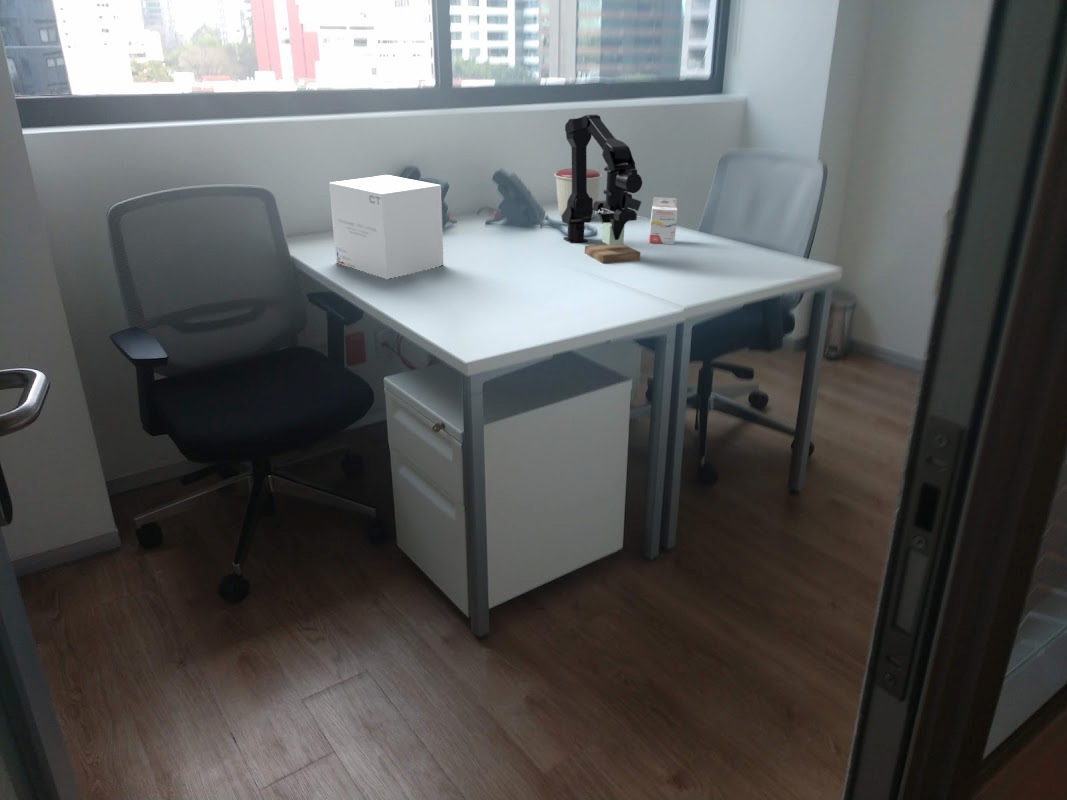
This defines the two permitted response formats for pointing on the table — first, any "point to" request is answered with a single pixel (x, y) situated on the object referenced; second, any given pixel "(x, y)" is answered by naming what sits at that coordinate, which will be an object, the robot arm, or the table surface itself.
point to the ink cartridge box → (663, 221)
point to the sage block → (611, 235)
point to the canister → (566, 187)
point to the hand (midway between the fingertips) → (612, 237)
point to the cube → (387, 225)
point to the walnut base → (612, 253)
